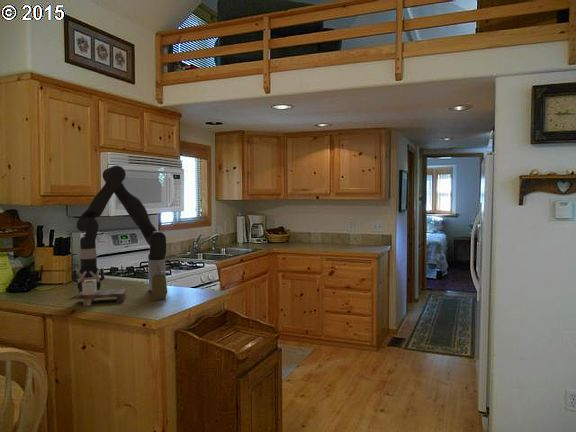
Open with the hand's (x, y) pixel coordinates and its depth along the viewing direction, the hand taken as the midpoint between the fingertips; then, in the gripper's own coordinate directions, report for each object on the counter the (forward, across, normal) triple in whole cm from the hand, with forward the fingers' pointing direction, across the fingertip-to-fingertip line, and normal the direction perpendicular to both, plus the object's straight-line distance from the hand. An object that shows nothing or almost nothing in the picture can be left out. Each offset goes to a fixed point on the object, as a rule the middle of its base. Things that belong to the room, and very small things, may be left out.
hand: (89, 289), depth 219 cm
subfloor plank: (+6, -6, 0) cm, 9 cm away
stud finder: (+2, 0, 0) cm, 2 cm away
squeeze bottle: (+7, -34, +4) cm, 35 cm away
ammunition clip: (+7, +4, -22) cm, 23 cm away
